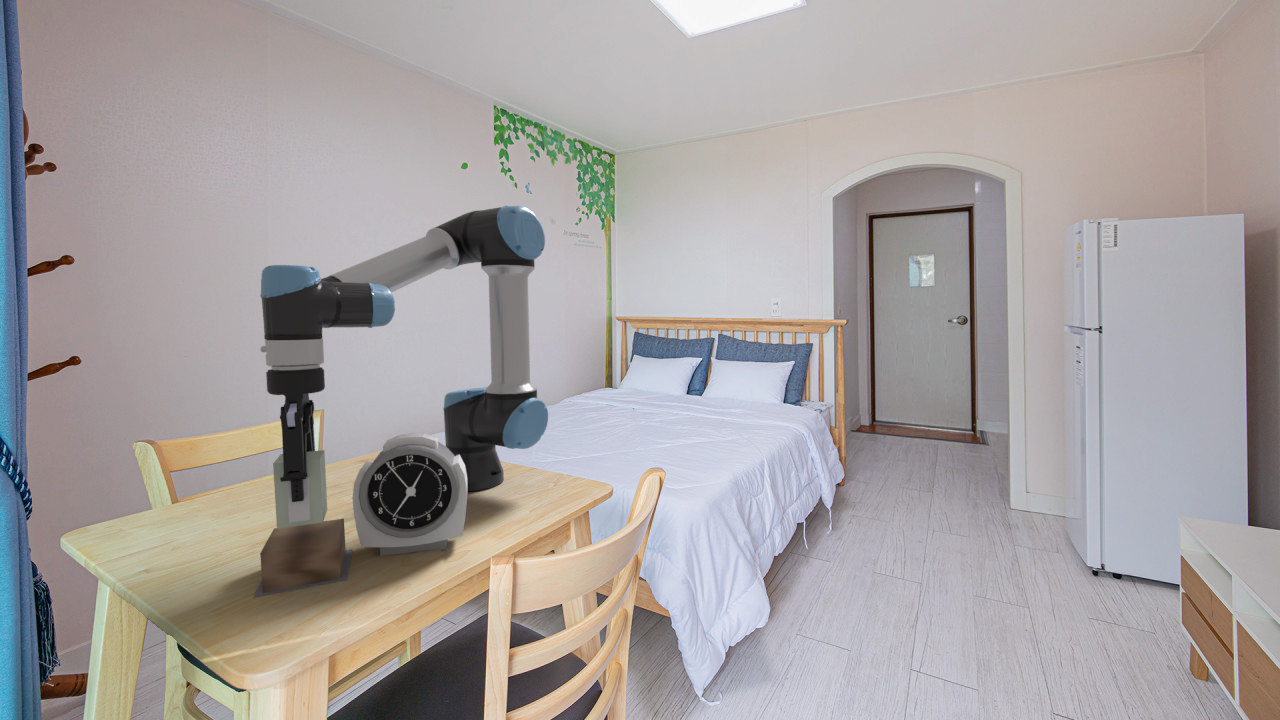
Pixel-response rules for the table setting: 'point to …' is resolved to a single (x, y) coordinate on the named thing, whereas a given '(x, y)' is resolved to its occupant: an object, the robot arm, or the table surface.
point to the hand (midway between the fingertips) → (303, 512)
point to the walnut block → (303, 555)
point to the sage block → (315, 489)
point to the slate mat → (343, 578)
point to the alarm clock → (410, 496)
